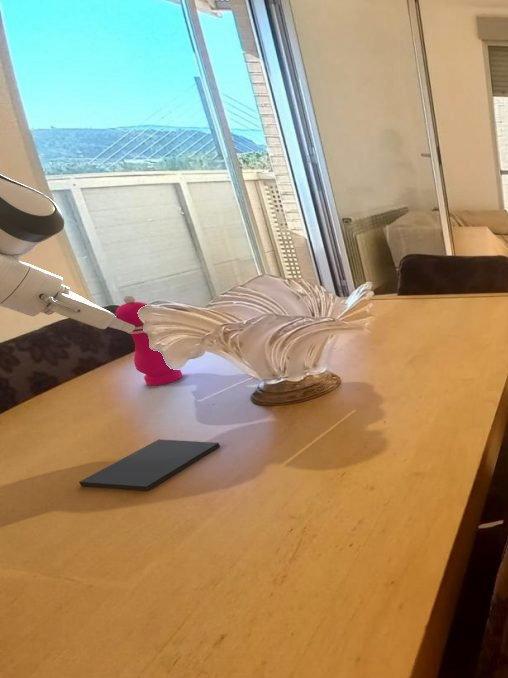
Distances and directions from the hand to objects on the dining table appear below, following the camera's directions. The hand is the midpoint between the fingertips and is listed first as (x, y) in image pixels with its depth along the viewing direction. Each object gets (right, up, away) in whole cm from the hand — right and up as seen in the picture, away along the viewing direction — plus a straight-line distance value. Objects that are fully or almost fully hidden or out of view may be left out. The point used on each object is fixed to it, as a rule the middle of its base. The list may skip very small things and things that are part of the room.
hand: (125, 325), depth 102 cm
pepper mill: (+2, -12, +7) cm, 14 cm away
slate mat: (+31, -25, -25) cm, 47 cm away
